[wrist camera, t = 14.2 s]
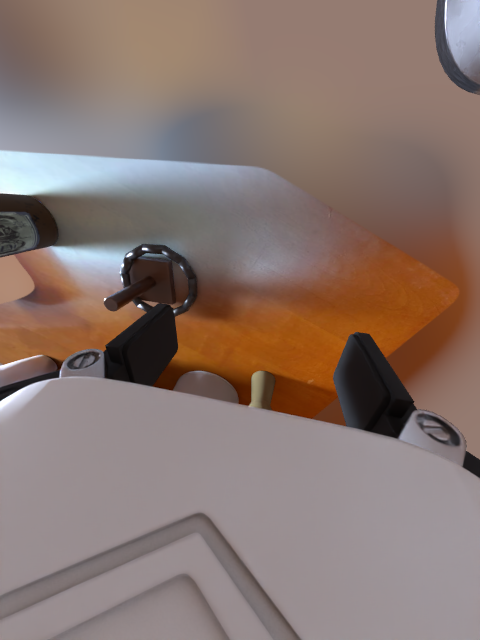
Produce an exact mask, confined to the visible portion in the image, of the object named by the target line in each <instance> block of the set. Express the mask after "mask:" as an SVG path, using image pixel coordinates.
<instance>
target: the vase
mask: <svg viewBox="0 0 480 640" xmlns="http://www.w3.org/2000/svg"><path fill="white" fill-rule="evenodd" d="M56 370H57V365H56V363H55V362H54V361H53V360H52V359H51V358H49V357H47V356H45V355H38V356H34V357H30V358H26V359H22V360H19V361H15V362H12V363H9V364H6V365H3V366H0V387H2V386H5V385H9V384H12V383H15V382H19V381H22V380H26V379H29V378H33V377H36V376H40V375H43V374H47V373H50V372H54V371H56Z"/></svg>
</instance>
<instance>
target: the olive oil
mask: <svg viewBox="0 0 480 640" xmlns="http://www.w3.org/2000/svg"><path fill="white" fill-rule="evenodd" d="M57 239H58V229H57V225H56V223H55V220H54V218H53V217H52V215H51V213H50V212H49V211H48V210H47V208H46V207H45V206H44V205H43V204H42V203H40V202H39V201H38V200H36V199H35V198H33V197H30V196H27V195H15V194H0V257H5V256H9V255H13V254H18V253H22V252H26V251H31V250H36V249H40V248H45V247H49V246H52V245H54V244H55V243H56V241H57Z"/></svg>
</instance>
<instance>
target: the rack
mask: <svg viewBox="0 0 480 640" xmlns="http://www.w3.org/2000/svg"><path fill="white" fill-rule="evenodd" d="M129 275H130V280H131V284H132V285H130V286H128V287H126V288H124V289H122V290H120V291H118V292H116V293H115V294H113V295H111V296H109V297H107V298H105V299H104V305H105V307H106V308H107V309H108V310H110V311H117V310H118V309H120V308H121V307H123V306H125V305H126V304H128V303H129V302H131V301H132V300H134V299H136V298H137V297H140V299H141V300H145V301H152V302H158V303H165V304H172V305H173V304H174V303H175V302H176V298H175V289H174V280H173V270H172V261H171V260H163V259H154V258H145V257H139V258H137V259H135V260H134V262H133V264H132V267H131V269H130V272H129Z"/></svg>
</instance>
